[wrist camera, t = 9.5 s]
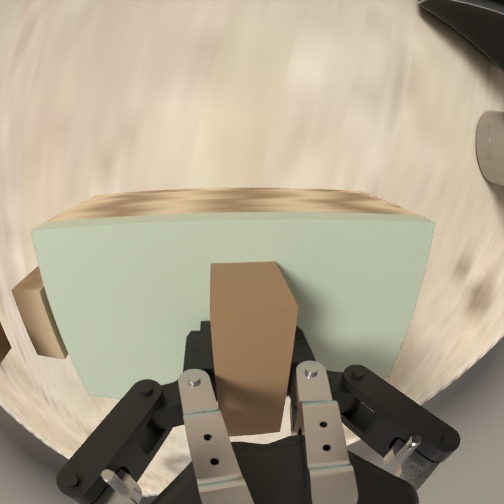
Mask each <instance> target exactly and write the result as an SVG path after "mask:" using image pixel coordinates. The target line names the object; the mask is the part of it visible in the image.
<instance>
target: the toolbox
mask: <svg viewBox="0 0 504 504" xmlns="http://www.w3.org/2000/svg"><path fill="white" fill-rule="evenodd" d="M220 212H341V213H374V214H398V215H418V214H415V213H413V212H411V211H409V210H406V209H404V208H402V207H399V206H397V205H394V204H392V203H390V202H387V201H385V200H382V199H380V198H377V197H375V196H372V195H369V194H367V193H364V192H359V191H342V190H322V189H291V188H213V189H182V190H162V191H145V192H131V193H118V194H107V195H96V196H94V197H92V198H90V199H88V200H86V201H84V202H82V203H80V204H78V205H76V206H74V207H73V208H71V209H69V210H67V211H65V212H63V213H61V214H59V215H58V216H56V217H54V218H52V219H50V220H49V221H47V222H57V221H68V220H80V219H93V218H108V217H123V216H141V215H161V214H185V213H220ZM418 216H420V215H418ZM47 222H45V223H47ZM12 293H13V296H14V299H15V301H16V304H17V307H18V310H19V312H20V315H21V318H22V320H23V323H24V325H25V328H26V330H27V332H28V335H29V337H30V339H31V341H32V344H33V346H34V348H35V350H36V352H37V354H38V355H41V356H47V357H53V358H60V359H66V357H67V355H68V351H67V349H66V347H65V344H64V342H63V339H62V337H61V334H60V332H59V329H58V327H57V324H56V321H55V318H54V315H53V313H52V310H51V307H50V304H49V301H48V297H47V294H46V291H45V288H44V284H43V281H42V277H41V273H40V269H39V266H38V267H37V268H35V269H34V270H33V271H32V272H31V273H30V274H29V275H27V276H26V277H25V278H24V279H23V280H22V281H21V282H20V283H19V284H17V285H16V286H15V287H14V288H13V289H12Z"/></svg>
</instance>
